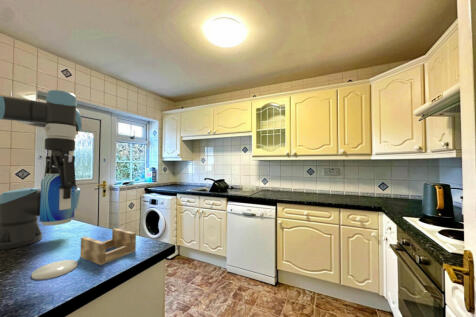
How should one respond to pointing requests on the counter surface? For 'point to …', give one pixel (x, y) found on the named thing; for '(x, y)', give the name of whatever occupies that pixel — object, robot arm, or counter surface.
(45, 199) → the beer can
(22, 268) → the counter surface
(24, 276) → the counter surface
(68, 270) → the trivet
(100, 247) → the oak holder
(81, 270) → the counter surface
